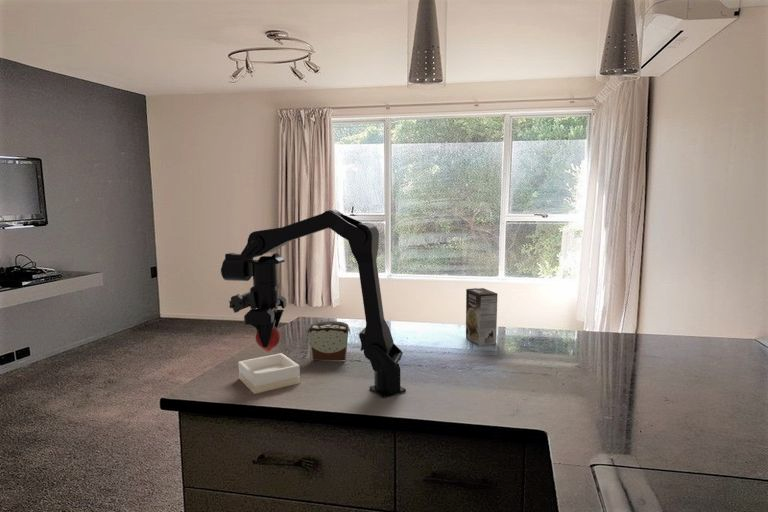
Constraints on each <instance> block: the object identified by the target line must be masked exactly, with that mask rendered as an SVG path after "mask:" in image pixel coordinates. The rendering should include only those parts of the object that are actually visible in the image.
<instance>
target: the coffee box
mask: <svg viewBox="0 0 768 512" xmlns="http://www.w3.org/2000/svg"><path fill="white" fill-rule="evenodd" d="M465 291H466V292H465V293H466V295H465V296H466V297H465V302H466V303H465V338H466V339H467V340H469V341H471V342H472V343H474V344H475V345H477V346H479V347H480V346H487V345H488V346H490V345H496V344H497V323H498V321H497V319H498V293H497V292H495V291H492V290H489V289H486V288H485V287H480V288H479V287H478V288H477V287H475V288H466V290H465Z"/></svg>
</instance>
